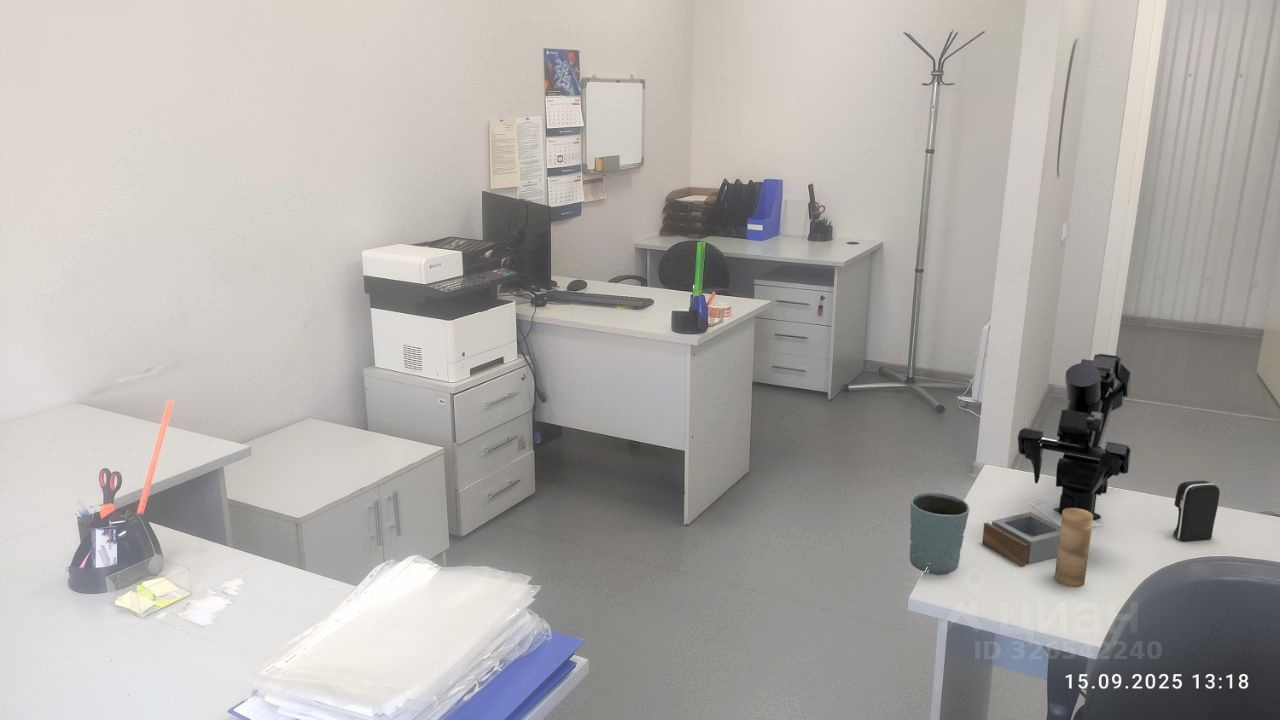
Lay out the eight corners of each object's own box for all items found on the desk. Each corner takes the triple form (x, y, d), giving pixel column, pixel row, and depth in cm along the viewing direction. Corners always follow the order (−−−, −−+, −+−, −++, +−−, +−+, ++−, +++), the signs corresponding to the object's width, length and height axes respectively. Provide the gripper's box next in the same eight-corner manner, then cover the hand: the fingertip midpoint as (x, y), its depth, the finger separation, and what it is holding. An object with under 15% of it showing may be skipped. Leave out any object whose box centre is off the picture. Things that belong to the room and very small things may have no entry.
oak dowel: (1068, 572, 160) (1076, 505, 157) (1090, 584, 156) (1099, 516, 153) (1048, 577, 159) (1056, 510, 155) (1070, 590, 154) (1079, 521, 151)
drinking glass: (895, 556, 167) (899, 497, 164) (937, 545, 171) (941, 488, 168) (932, 581, 158) (937, 519, 155) (976, 569, 162) (981, 508, 159)
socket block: (1027, 532, 175) (1030, 511, 174) (1067, 553, 167) (1070, 532, 165) (990, 542, 172) (992, 520, 170) (1028, 564, 163) (1031, 541, 162)
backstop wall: (985, 543, 171) (987, 522, 170) (1025, 566, 162) (1027, 544, 161) (982, 544, 171) (984, 523, 170) (1022, 567, 162) (1024, 545, 161)
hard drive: (1028, 502, 188) (1065, 528, 176) (1064, 499, 189) (1102, 524, 177) (1028, 509, 188) (1064, 535, 176) (1063, 506, 189) (1101, 532, 178)
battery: (1198, 530, 175) (1207, 477, 172) (1213, 539, 172) (1222, 484, 169) (1166, 533, 174) (1174, 479, 171) (1180, 542, 171) (1189, 487, 168)
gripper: (1026, 385, 168) (1006, 452, 161) (1138, 402, 158) (1121, 474, 151) (1029, 420, 176) (1009, 485, 168) (1135, 438, 166) (1120, 508, 158)
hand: (1063, 487), depth 161 cm, fingers open, 9 cm apart
